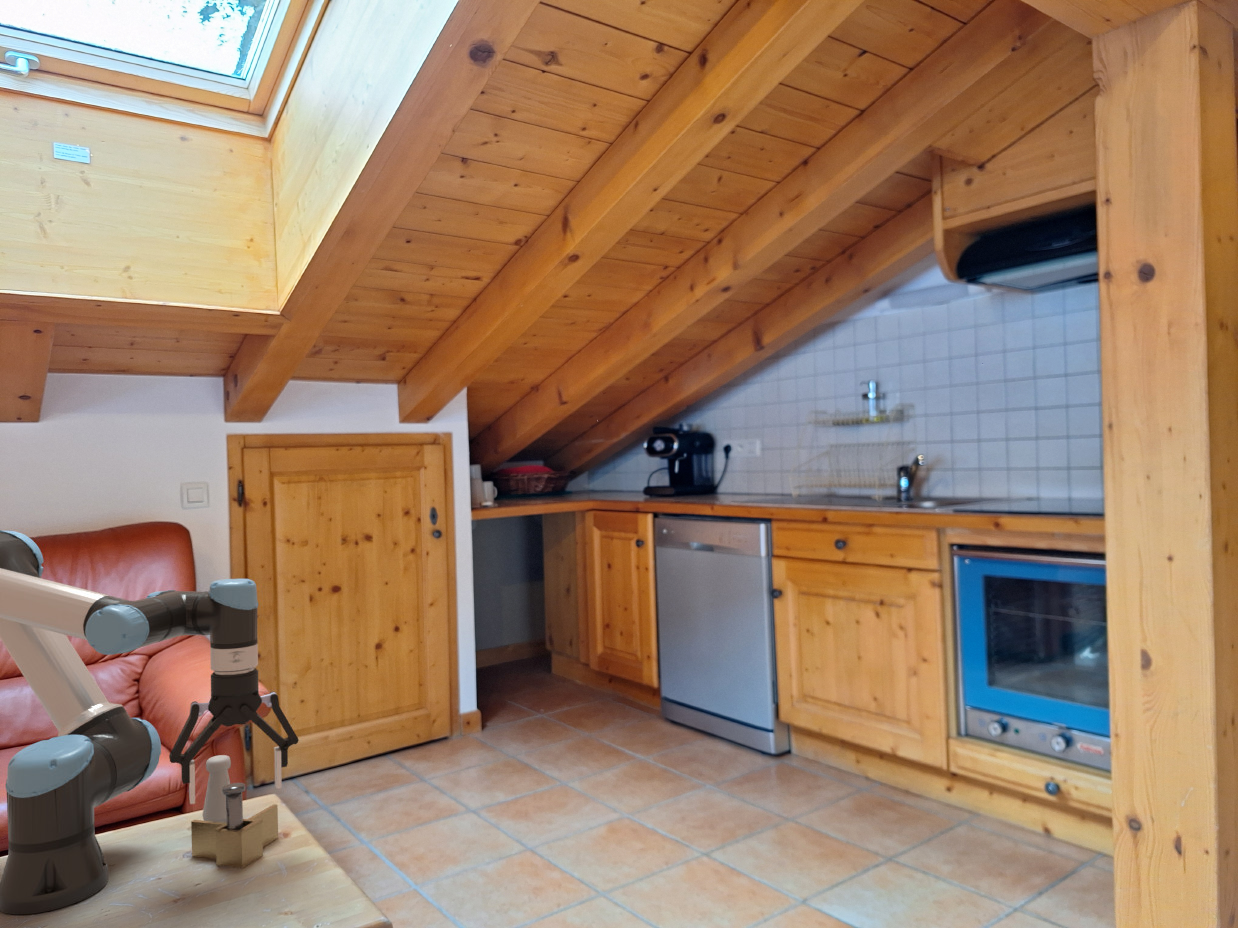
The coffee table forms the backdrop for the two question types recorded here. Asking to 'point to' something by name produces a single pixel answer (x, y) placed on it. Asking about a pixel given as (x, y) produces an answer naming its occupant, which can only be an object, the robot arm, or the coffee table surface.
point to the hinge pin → (234, 805)
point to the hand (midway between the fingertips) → (236, 793)
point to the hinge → (235, 839)
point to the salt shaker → (216, 788)
